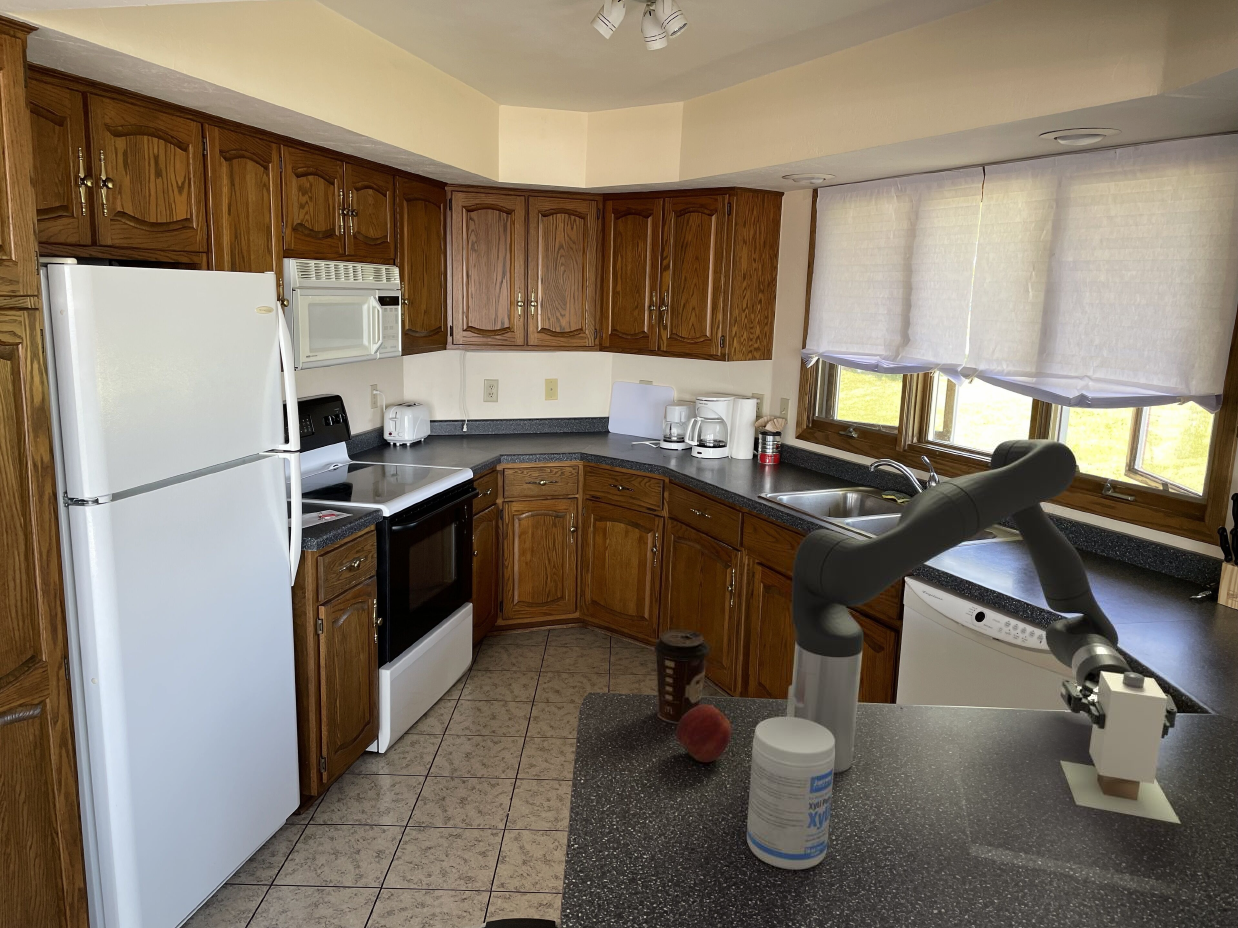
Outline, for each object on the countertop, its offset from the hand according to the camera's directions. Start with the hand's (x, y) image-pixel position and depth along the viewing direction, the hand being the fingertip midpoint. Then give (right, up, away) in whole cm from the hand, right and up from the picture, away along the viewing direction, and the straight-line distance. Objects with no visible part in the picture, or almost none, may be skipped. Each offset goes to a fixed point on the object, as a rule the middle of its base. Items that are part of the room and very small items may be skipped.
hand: (1132, 726), depth 113 cm
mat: (0, -11, +4) cm, 12 cm away
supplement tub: (-47, -12, -10) cm, 50 cm away
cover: (0, -7, +3) cm, 7 cm away
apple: (-56, -8, +10) cm, 57 cm away
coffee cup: (-58, -5, +23) cm, 63 cm away
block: (0, -10, +4) cm, 11 cm away
